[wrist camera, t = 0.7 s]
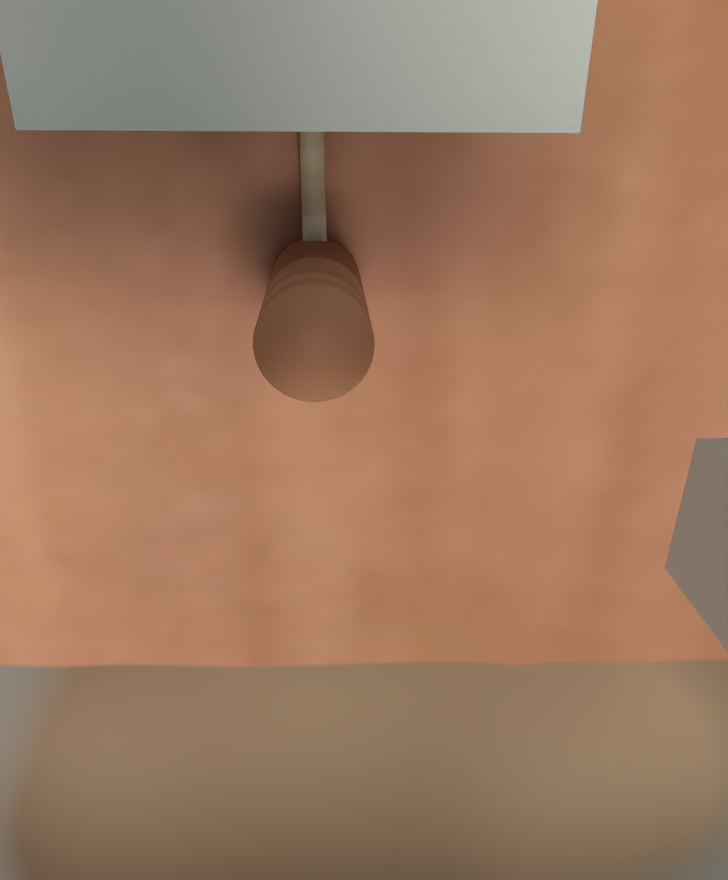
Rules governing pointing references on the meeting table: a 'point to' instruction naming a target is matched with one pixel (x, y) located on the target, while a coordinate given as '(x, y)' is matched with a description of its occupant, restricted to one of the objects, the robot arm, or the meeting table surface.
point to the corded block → (314, 303)
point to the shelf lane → (297, 65)
